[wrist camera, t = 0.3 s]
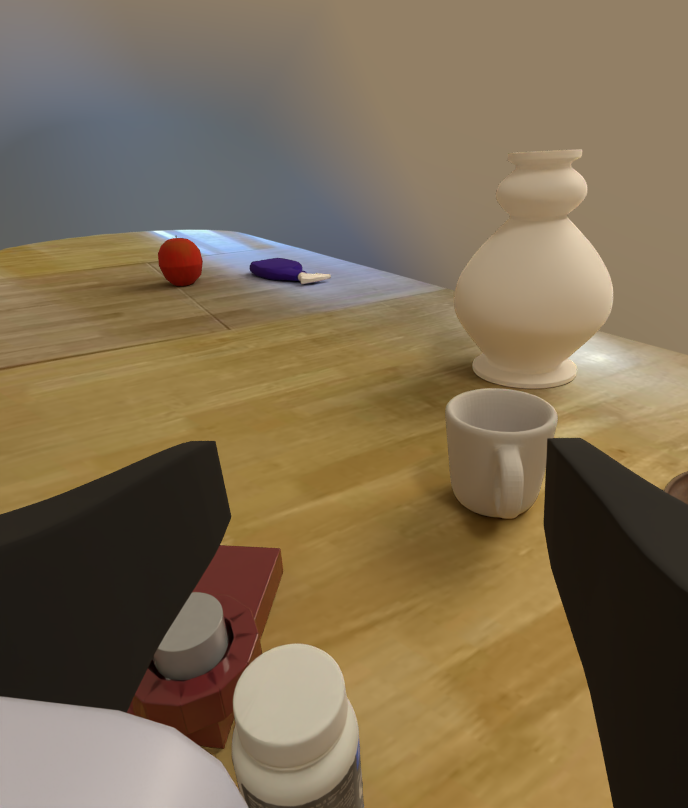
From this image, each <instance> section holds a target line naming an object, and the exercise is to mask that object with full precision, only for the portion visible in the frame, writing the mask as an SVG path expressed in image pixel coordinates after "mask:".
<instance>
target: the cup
mask: <svg viewBox="0 0 688 808" xmlns="http://www.w3.org/2000/svg"><path fill="white" fill-rule="evenodd" d="M445 417H446V429H447V442H448V454H449V467H450V478H451V485H452V489H453V492H454V494H455V496H456V498H457V499H458V501H459V502H460V503H461V504H462V505H463V506H465V507H466V508H468V509H469V510H471V511H473V512H475V513H478V514H481V515H485V516H489V517H501V518H506V519H511V518H515V517H517V516H518V514H521V513H523V512H525V511H526V510H528V509H529V508H530V507H531V506H532V505H533V504H534V502H535V501H536V499H537V497H538V494H539V491H540V488H541V484H542V480H543V476H544V472H545V468H546V457H547V438H553V437H554V434H555V430H556V426H557V421H558V416H557V413H556V411H555V409H554V408H553V406H552V405H551V404H549V403H548V402H547V401H545V400H543V399H541V398H539V397H537V396H535V395H532V394H529V393H525V392H521V391H516V390H510V389H494V388H490V389H478V390H472V391H468V392H464V393H462V394H459V395H457V396H455V397H454V398H453V399H451V400H450V401H449V403H448V404H447V406H446V410H445Z"/></svg>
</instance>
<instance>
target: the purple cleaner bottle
mask: <svg viewBox="0 0 688 808" xmlns="http://www.w3.org/2000/svg"><path fill="white" fill-rule="evenodd" d="M250 271H251V272H252V273H253V274H254V275H256V276H259V277H262V278H266V279H271V280H289V281H301V284H306V283H312V282H318V281H323V280H326V279H330V278H331V276H330V274H318V273H316V274H307V273H306V272H305V271H302V265H301V264H300V263H299V262H296V261H292V260H288V259H283V258H273V259H267V260H261V261H255V262H252V263H251V265H250Z"/></svg>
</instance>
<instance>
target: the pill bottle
mask: <svg viewBox="0 0 688 808" xmlns="http://www.w3.org/2000/svg"><path fill="white" fill-rule="evenodd" d="M233 712H234V718H235V723H236V725H235V728H234V732H233V738H232V760H233V765H234V770H235V773H236V777H237V782H238V785H239V789H240V793H241V795H242V797H243V798H244V800H245V802H246V804H247V806H248V808H364V802H363V782H362V772H361V761H360V744H359V729H358V723H357V719H356V715H355V712H354V710H353V707H352V705H351V703H350V701H349V700H348V698H347V695H346V689H345V682H344V678H343V675H342V672H341V670H340V668H339V666H338V664H337V663H336V661H335V660H334V659H333V658H332V657H331V656H330V655H329V654H327V653H326V652H324V651H323V650H321V649H319V648H316V647H314V646H310V645H306V644H289V645H283V646H279V647H276V648H273V649H270V650H268V651H267V652H265V653H263V654H261V655H260V656H258V657H257V658H256V659H255V660H254V661H253V662H251V663H250V665H249V666H248V667H247V668H246V669H245V670H244V672H243V673H242V675H241V676H240V678H239V680H238V682H237V684H236V688H235V691H234V696H233Z"/></svg>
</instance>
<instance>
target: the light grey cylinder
mask: <svg viewBox="0 0 688 808" xmlns="http://www.w3.org/2000/svg"><path fill="white" fill-rule="evenodd" d="M227 647H228V634H227V629H226V624H225V619H224V614H223V609H222V606H221V604H220V602H219V601H218V600H217V599H216V598H215V597H213V596H211V595H209V594H206V593H200V592H192V593H191V595H190V596H189V598H188V600H187V601H186V603H185V604H184V606H183V608H182V609H181V611H180V612H179V614H178V616H177V617H176V619H175V620H174V622H173V624H172V625H171V627H170V628H169V630H168V632H167V633H166V635H165V637H164V638H163V640H162V642H161V644H160V645H159V647H158V649H157V651H156V652H155V654H154V656H153V661H154V664H155V667H156V669H157V671H158V672H159V673H160V674H161V675H163V676H164V677H166V678H168V679H171V680H180V681H182V680H189V679H192V678H195V677H197V676H200V675H203V674H205V673H207V672H209V671H210V670H211V669H213V668H214V667H215V666H216V665H217V664H218V663H219V662H220V661H221V659H222V658H223V656H224V655H225V652H226V650H227Z"/></svg>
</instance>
